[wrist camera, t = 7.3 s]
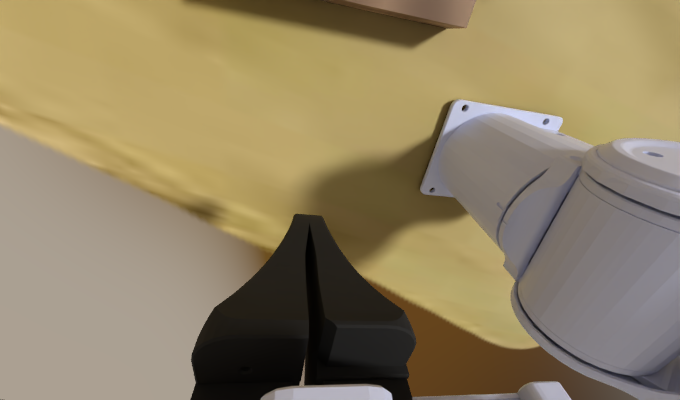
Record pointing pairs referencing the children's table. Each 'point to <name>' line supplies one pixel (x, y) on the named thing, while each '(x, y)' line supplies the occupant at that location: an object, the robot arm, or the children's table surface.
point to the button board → (419, 10)
